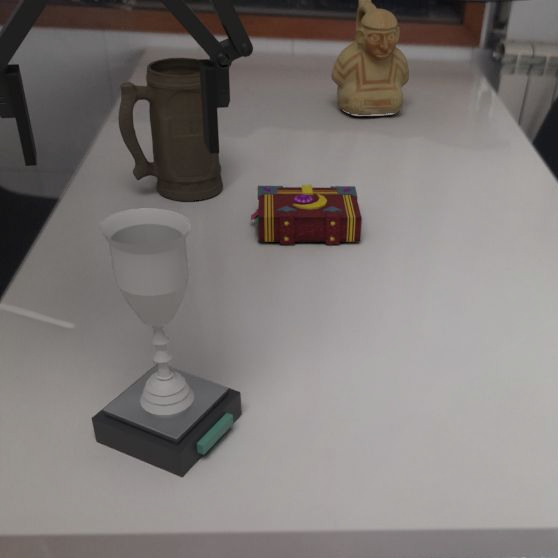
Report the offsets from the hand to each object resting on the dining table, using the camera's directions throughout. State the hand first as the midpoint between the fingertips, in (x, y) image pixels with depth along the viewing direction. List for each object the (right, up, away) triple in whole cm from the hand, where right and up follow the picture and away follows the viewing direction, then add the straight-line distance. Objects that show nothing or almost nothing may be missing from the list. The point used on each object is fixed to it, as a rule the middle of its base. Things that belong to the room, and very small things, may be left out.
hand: (124, 153), depth 56 cm
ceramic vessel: (+22, +37, +102) cm, 110 cm away
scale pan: (0, -21, +13) cm, 24 cm away
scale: (0, -23, +15) cm, 27 cm away
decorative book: (+11, +3, +52) cm, 54 cm away
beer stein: (-11, +10, +61) cm, 63 cm away
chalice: (0, -20, +13) cm, 24 cm away
